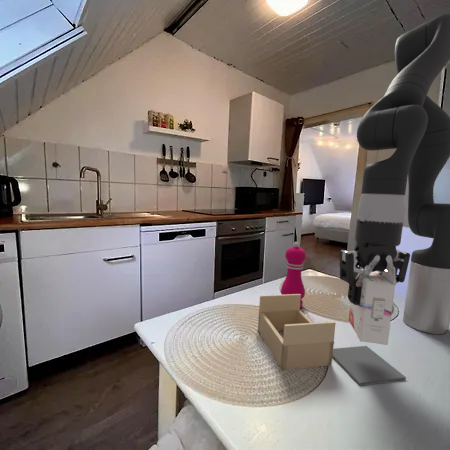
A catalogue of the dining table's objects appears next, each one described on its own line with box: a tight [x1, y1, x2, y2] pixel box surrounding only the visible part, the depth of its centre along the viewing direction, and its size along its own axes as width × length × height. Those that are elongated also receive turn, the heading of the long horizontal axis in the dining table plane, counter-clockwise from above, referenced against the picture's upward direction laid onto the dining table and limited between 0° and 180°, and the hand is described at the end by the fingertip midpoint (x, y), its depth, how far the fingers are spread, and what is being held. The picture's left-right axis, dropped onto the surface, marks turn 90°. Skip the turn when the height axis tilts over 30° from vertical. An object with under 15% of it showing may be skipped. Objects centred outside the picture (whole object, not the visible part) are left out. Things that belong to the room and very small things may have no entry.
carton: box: [257, 294, 336, 371], centre depth 56 cm, size 11×15×9 cm
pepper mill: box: [280, 241, 307, 310], centre depth 77 cm, size 7×7×20 cm
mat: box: [332, 345, 407, 386], centre depth 51 cm, size 10×10×1 cm
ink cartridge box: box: [348, 263, 396, 346], centre depth 49 cm, size 9×5×15 cm, turn 168°
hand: (369, 302), depth 50 cm, fingers closed on ink cartridge box, 6 cm apart
